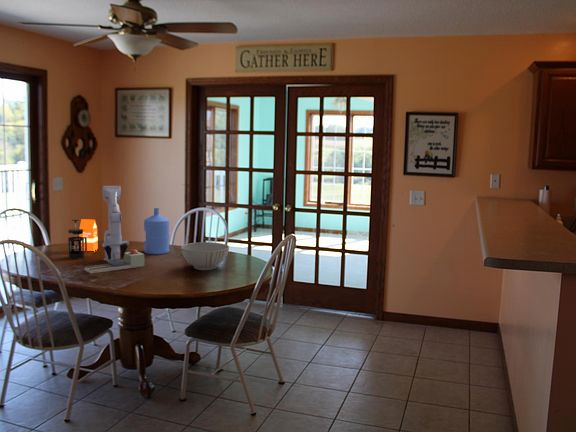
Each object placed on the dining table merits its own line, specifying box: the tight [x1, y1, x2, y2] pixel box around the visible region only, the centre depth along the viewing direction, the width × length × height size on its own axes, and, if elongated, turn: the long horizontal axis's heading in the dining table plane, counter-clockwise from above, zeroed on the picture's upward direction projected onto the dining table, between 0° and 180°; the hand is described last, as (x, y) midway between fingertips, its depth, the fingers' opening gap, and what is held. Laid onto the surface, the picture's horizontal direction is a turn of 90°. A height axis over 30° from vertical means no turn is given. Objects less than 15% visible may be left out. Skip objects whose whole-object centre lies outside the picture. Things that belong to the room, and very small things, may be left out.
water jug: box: [143, 207, 170, 255], centre depth 356 cm, size 16×16×28 cm
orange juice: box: [78, 218, 99, 252], centre depth 356 cm, size 8×9×20 cm
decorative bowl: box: [180, 241, 230, 271], centre depth 319 cm, size 27×27×12 cm
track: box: [84, 251, 145, 274], centre depth 313 cm, size 10×30×7 cm, turn 130°
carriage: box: [107, 252, 124, 265], centre depth 313 cm, size 7×6×6 cm
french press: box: [67, 218, 88, 260], centre depth 336 cm, size 12×9×23 cm
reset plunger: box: [129, 248, 138, 254], centre depth 319 cm, size 4×4×4 cm
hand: (116, 258), depth 313 cm, fingers open, 7 cm apart
